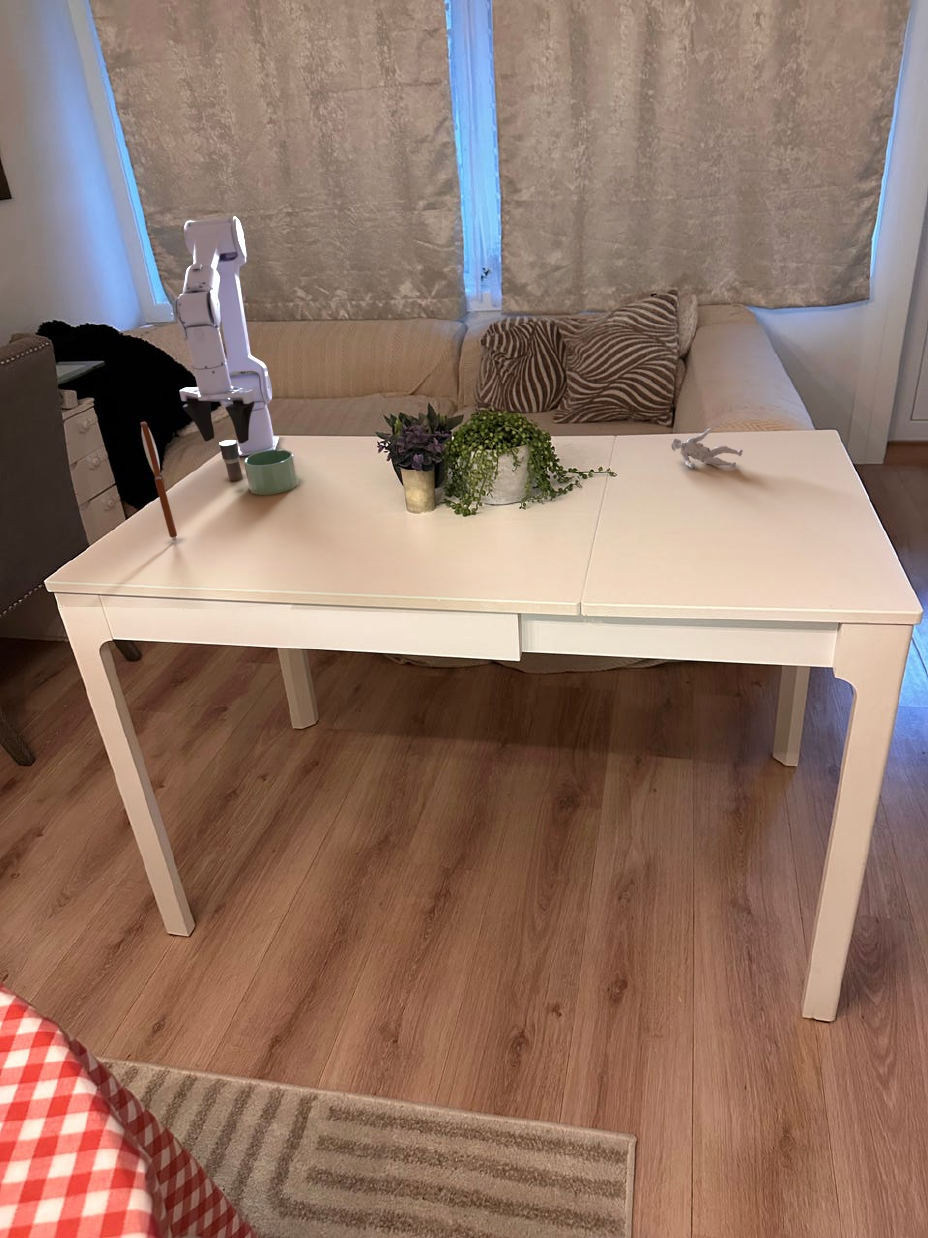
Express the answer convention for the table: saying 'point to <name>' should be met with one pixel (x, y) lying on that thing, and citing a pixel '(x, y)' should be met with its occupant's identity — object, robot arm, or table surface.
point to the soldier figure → (703, 451)
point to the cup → (271, 472)
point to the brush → (231, 459)
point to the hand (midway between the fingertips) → (226, 440)
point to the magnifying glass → (158, 478)
